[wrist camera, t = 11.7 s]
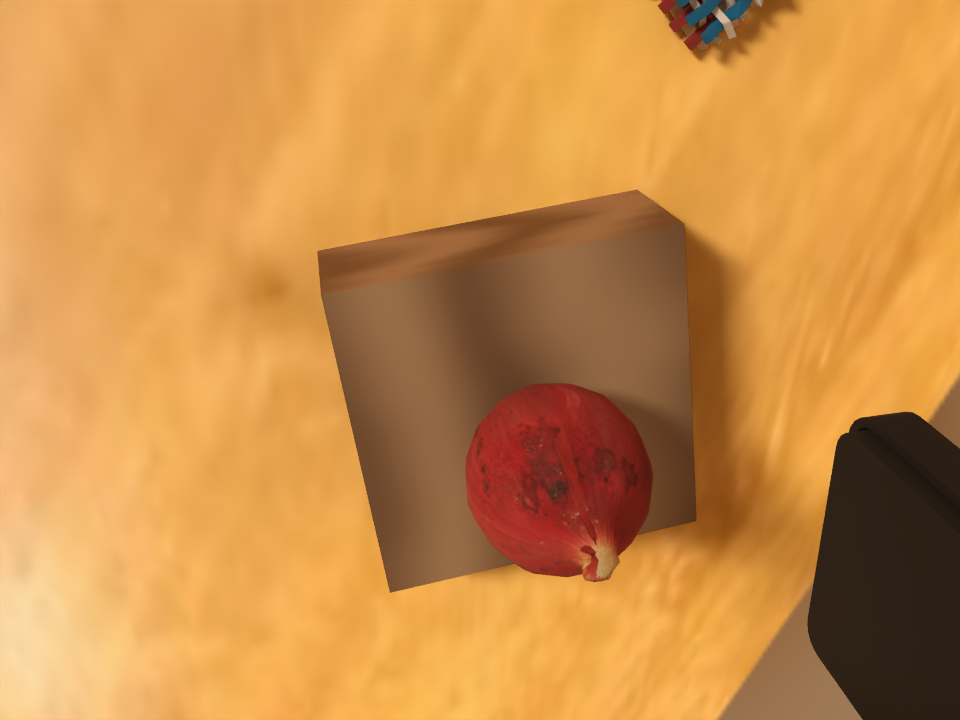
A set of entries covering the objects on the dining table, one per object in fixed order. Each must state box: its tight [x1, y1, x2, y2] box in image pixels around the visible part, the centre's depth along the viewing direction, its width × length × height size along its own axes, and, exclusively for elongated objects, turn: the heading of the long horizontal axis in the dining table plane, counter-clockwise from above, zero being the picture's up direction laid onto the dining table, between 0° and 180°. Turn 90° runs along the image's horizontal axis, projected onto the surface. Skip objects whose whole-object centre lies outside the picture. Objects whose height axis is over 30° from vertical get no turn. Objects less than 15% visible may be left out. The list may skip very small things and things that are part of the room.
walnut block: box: [318, 190, 696, 593], centre depth 34 cm, size 12×12×5 cm
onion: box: [465, 383, 653, 582], centre depth 28 cm, size 6×6×8 cm
